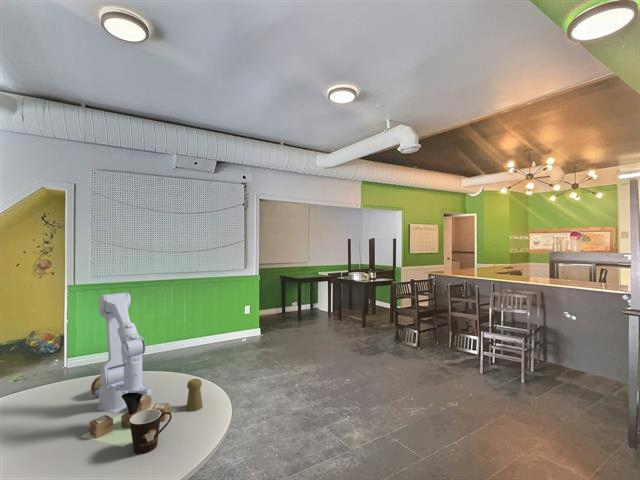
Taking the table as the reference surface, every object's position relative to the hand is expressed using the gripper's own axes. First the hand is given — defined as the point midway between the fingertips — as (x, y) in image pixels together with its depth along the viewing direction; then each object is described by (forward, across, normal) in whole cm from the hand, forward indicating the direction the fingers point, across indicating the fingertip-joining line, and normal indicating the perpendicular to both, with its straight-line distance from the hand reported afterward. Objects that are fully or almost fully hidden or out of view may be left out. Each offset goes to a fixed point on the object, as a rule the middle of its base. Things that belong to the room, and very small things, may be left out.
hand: (133, 412), depth 114 cm
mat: (+4, -1, +1) cm, 5 cm away
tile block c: (+4, -6, +9) cm, 12 cm away
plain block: (+4, 0, 0) cm, 4 cm away
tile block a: (+4, -6, -7) cm, 10 cm away
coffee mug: (+5, +16, -8) cm, 18 cm away
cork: (+4, +13, +16) cm, 21 cm away
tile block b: (+4, +6, +6) cm, 9 cm away
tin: (+4, -31, +17) cm, 36 cm away
